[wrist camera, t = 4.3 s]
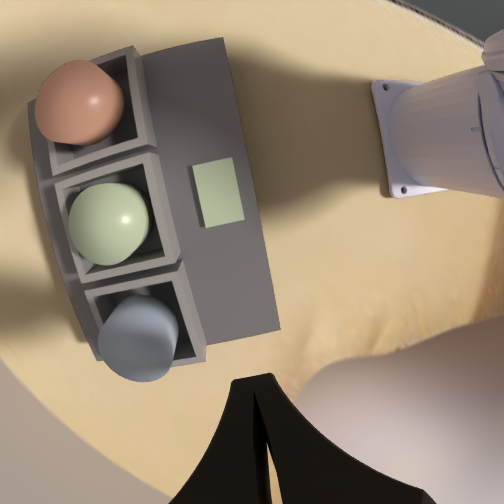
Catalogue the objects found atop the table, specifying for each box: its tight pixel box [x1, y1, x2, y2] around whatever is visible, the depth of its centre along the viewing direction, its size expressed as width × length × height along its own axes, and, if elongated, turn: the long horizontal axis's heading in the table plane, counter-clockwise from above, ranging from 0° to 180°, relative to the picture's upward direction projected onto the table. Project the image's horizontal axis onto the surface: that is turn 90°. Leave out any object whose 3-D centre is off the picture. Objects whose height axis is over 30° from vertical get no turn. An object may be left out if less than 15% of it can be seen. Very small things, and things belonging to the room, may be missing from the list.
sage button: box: [69, 182, 153, 265], centre depth 13 cm, size 4×4×2 cm
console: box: [28, 37, 281, 367], centre depth 15 cm, size 12×17×4 cm
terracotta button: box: [35, 60, 124, 146], centre depth 11 cm, size 4×4×2 cm
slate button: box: [98, 295, 179, 382], centre depth 14 cm, size 4×4×2 cm
